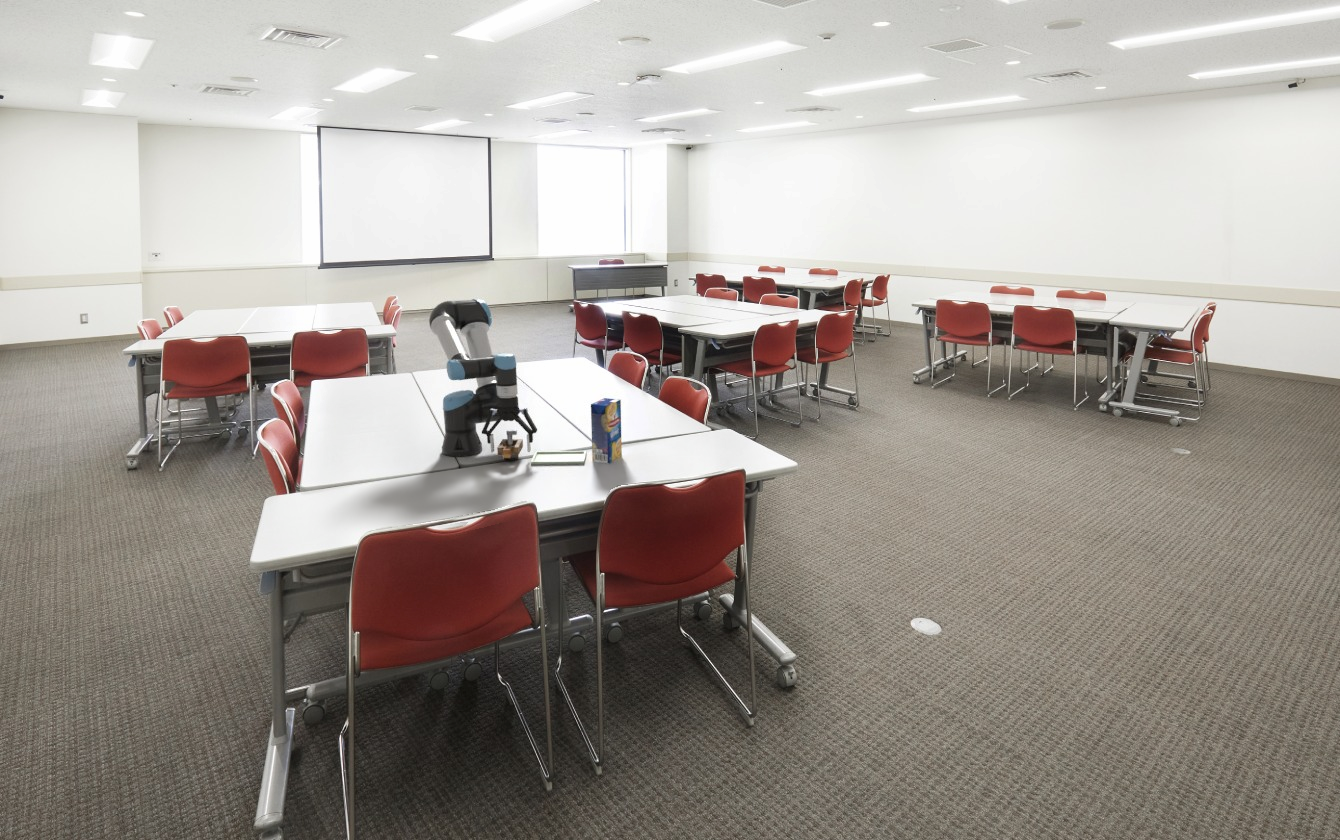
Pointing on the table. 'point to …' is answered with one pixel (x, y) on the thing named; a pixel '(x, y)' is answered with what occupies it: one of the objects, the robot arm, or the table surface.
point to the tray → (558, 457)
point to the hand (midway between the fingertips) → (510, 451)
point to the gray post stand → (510, 443)
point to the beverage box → (606, 430)
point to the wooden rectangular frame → (510, 448)
